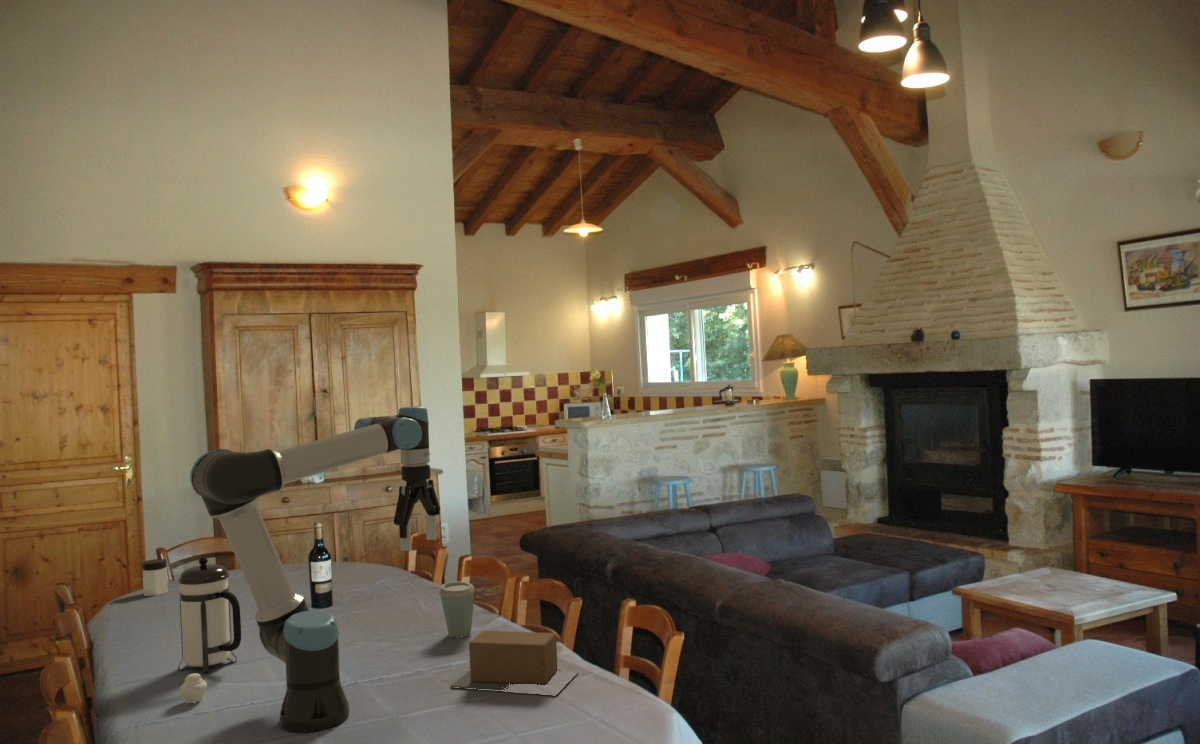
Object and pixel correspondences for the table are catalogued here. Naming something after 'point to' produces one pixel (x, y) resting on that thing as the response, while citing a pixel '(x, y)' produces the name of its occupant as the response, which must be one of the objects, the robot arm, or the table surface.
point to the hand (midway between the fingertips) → (419, 544)
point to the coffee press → (207, 616)
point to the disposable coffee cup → (458, 607)
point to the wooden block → (513, 657)
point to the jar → (154, 577)
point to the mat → (478, 684)
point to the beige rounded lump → (193, 688)
